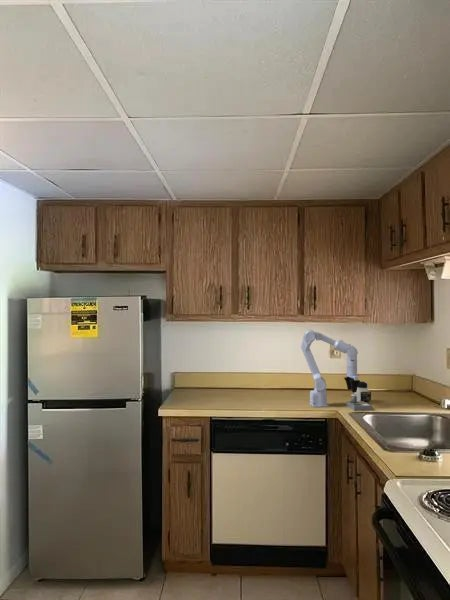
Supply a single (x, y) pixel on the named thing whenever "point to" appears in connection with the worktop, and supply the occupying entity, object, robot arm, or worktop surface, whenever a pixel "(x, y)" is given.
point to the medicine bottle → (363, 392)
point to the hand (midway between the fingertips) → (352, 390)
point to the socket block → (359, 406)
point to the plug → (353, 398)
